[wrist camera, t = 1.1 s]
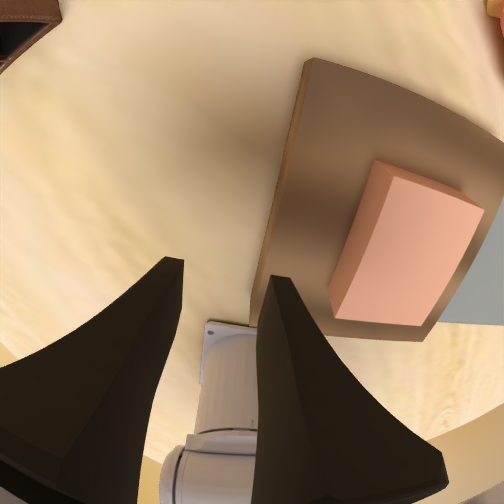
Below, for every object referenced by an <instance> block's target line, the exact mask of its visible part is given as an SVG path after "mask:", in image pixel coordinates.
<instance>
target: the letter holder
mask: <svg viewBox="0 0 504 504" xmlns="http://www.w3.org/2000/svg"><path fill="white" fill-rule="evenodd" d="M58 6H59V5H58V2H57V0H0V74H1V73H2V72H3V71H4V70H5V69H6V68H7V67H8V66H9V65H10V64H11V63H12V62H13V61H14V60H15V59H16V58H18V57H19V56H20V55H21V54H22V53H23V52H24V51H25V50H27V49H28V48H29V47H30V46H32V45H33V44H34V43H35V42H36V41H37V40H39V39H40V38H42V37H43V36H44V35H45V34H46V33H48V32H49V31H50V30H52V29H53V28H54V27H56V26H57V25H58V24H60V23H61V16H60V12H59V7H58Z"/></svg>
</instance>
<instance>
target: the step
mask: <svg viewBox="0 0 504 504" xmlns="http://www.w3.org/2000/svg"><path fill="white" fill-rule="evenodd" d="M374 160H376V161H380V162H383V163H386V164H389V165H392V166H395V167H398V168H401V169H404V170H407V171H410V172H412V173H415V174H418V175H421V176H423V177H426V178H429V179H431V180H434V181H437V182H439V183H442V184H444V185H447V186H449V187H452V188H454V189H457V190H459V191H461V192H462V193H464V194H465V195H466V196H468V197H469V198H470V199H471V200H473V201H474V202H475V203H477V204H478V205H479V206H480V207H482V208H483V209H484V213H483V215H482V217H481V220H480V222H479V224H478V226H477V228H476V231H475V233H474V235H473V237H472V239H471V241H470V243H469V245H468V247H467V249H466V251H465V253H464V255H463V257H462V259H461V261H460V263H459V264H458V266H457V268H456V270H455V272H454V274H453V275H452V277H451V279H450V281H449V282H448V284H447V286H446V287H445V289H444V291H443V292H442V294H441V296H440V297H439V299H438V301H437V302H436V304H435V305H434V307H433V309H432V310H431V312H430V313H429V315H428V316H427V318H426V319H425V321H424V322H423V324H422V325H421V326H412V325H400V324H388V323H377V322H366V321H357V320H347V319H338V318H335V317H334V313H333V309H332V305H331V301H330V297H329V293H328V289H327V288H328V286H329V283H330V281H331V279H332V276H333V274H334V271H335V269H336V266H337V264H338V261H339V259H340V256H341V253H342V251H343V248H344V246H345V243H346V240H347V238H348V235H349V232H350V230H351V227H352V224H353V221H354V219H355V216H356V213H357V210H358V207H359V204H360V202H361V199H362V196H363V193H364V190H365V187H366V184H367V181H368V178H369V175H370V171H371V168H372V165H373V162H374ZM503 197H504V143H503V142H502V141H500V140H499V139H497V138H496V137H494V136H493V135H491V134H490V133H488V132H487V131H485V130H483V129H482V128H480V127H479V126H477V125H475V124H474V123H472V122H470V121H468V120H467V119H465V118H463V117H461V116H460V115H458V114H456V113H454V112H452V111H451V110H449V109H447V108H445V107H443V106H441V105H439V104H437V103H435V102H433V101H431V100H429V99H427V98H425V97H423V96H420V95H418V94H416V93H414V92H412V91H409V90H407V89H405V88H402V87H400V86H398V85H395V84H393V83H390V82H388V81H385V80H383V79H380V78H377V77H375V76H372V75H369V74H366V73H363V72H360V71H358V70H355V69H351V68H348V67H345V66H342V65H339V64H335V63H332V62H329V61H325V60H321V59H318V58H312V59H310V60H308V61H306V62H304V67H303V72H302V76H301V81H300V85H299V90H298V94H297V99H296V103H295V108H294V112H293V116H292V121H291V125H290V130H289V134H288V139H287V143H286V147H285V152H284V156H283V161H282V165H281V169H280V174H279V178H278V182H277V187H276V191H275V195H274V200H273V204H272V208H271V213H270V217H269V221H268V225H267V230H266V234H265V238H264V242H263V247H262V251H261V255H260V259H259V264H258V268H257V272H256V276H255V280H254V285H253V289H252V293H251V300H250V320H249V326H253V327H257V325H258V318H259V315H260V311H261V308H262V304H263V301H264V297H265V293H266V290H267V286H268V282H269V279H270V275H277V276H284V277H290V278H291V280H292V281H293V283H294V285H295V287H296V289H297V291H298V293H299V295H300V296H301V298H302V300H303V302H304V304H305V305H306V307H307V309H308V311H309V312H310V314H311V316H312V317H313V319H314V321H315V322H316V324H317V326H318V327H319V329H320V330H321V332H322V334H323V335H327V336H337V337H348V338H361V339H375V340H391V341H412V342H423V340H424V339H425V337H426V336H427V335H428V333H429V332H430V331H431V329H432V328H433V326H434V325H435V323H436V322H437V320H438V319H439V318H440V316H441V315H442V313H443V312H444V310H445V308H446V307H447V305H448V304H449V302H450V301H451V299H452V297H453V296H454V294H455V293H456V291H457V289H458V288H459V286H460V284H461V283H462V281H463V279H464V277H465V276H466V274H467V272H468V270H469V269H470V267H471V265H472V263H473V261H474V259H475V257H476V256H477V254H478V252H479V250H480V248H481V246H482V244H483V242H484V240H485V238H486V236H487V234H488V231H489V229H490V227H491V225H492V223H493V220H494V218H495V216H496V214H497V211H498V209H499V207H500V204H501V202H502V199H503Z"/></svg>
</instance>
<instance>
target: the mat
mask: <svg viewBox="0 0 504 504" xmlns="http://www.w3.org/2000/svg"><path fill="white" fill-rule="evenodd" d="M437 322H447V323H462V324H480V325H502V326H504V197H503V199H502V202H501V204H500V207H499V209H498V211H497V214H496V216H495V218H494V220H493V223H492V225H491V227H490V229H489V231H488V234H487V236H486V238H485V240H484V242H483V244H482V246H481V248H480V250H479V252H478V254H477V256H476V257H475V259H474V261H473V263H472V265H471V267H470V269H469V270H468V272H467V274H466V276H465V277H464V279H463V281H462V283H461V284H460V286H459V288H458V289H457V291H456V293H455V294H454V296H453V297H452V299H451V301H450V302H449V304H448V305H447V307H446V308H445V310H444V312H443V313H442V315H441V316H440V318H439V319H438V320H437Z"/></svg>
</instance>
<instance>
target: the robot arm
mask: <svg viewBox="0 0 504 504" xmlns="http://www.w3.org/2000/svg"><path fill="white" fill-rule="evenodd" d="M183 272H184V260H183V259H177V258H171V257H166V256H165V257H164V258H162V259H161V260H160V261H159V262H158V263H157V264H156V265H155V266H154V267H153V268H152V269H150V270H149V271H148V272H147V273H146V274H145V275H144V276H143V277H142V278H141V279H140V280H138V281H137V282H136V283H135V284H134V285H133V286H132V287H130V288H129V289H128V290H127V291H126V292H125V293H124V294H122V295H121V296H120V297H119V298H117V299H116V300H115V301H114V302H112V303H111V304H110V305H109V306H107V307H106V308H105V309H104V310H102V311H101V312H100V313H98V314H97V315H96V316H94V317H93V318H92V319H90V320H89V321H87V322H86V323H84V324H83V325H81V326H80V327H78V328H77V329H76V330H74V331H72V332H71V333H69V334H67V335H66V336H64V337H62V338H61V339H59V340H57V341H55V342H54V343H52V344H50V345H48V346H47V347H45V348H43V349H41V350H39V351H37V352H35V353H33V354H31V355H29V356H27V357H25V358H22V359H20V360H18V361H16V362H13V363H11V364H9V365H6V366H4V367H1V368H0V504H137V498H138V487H139V479H140V470H141V463H142V457H143V450H144V444H145V439H146V433H147V427H148V422H149V417H150V413H151V408H152V403H153V399H154V396H155V392H156V389H157V386H158V383H159V380H160V377H161V375H162V372H163V369H164V366H165V363H166V360H167V357H168V355H169V352H170V349H171V346H172V343H173V340H174V338H175V335H176V330H177V326H178V322H179V318H180V313H181V309H182V291H183ZM199 383H200V384H201V385H202V386H201V392H200V398H199V404H198V411H197V417H196V424H195V430H194V435H193V434H188V435H187V438H186V444H185V446H184V445H178V446H176V447H175V448H174V449H173V450H172V451H171V452H170V453H169V454H168V455H167V456H166V458H165V460H164V463H163V467H162V470H161V474H160V481H159V499H160V504H412V503H414V502H417V501H419V500H422V499H424V498H426V497H428V496H431V495H433V494H435V493H437V492H439V491H441V490H443V489H444V488H446V487H447V485H448V484H449V480H448V475H447V471H446V467H445V463H444V459H443V456H442V452H440V451H439V450H438V449H436V448H435V447H433V446H432V445H431V444H429V443H428V442H426V441H425V440H423V439H422V438H421V437H419V436H418V435H416V434H415V433H413V432H412V431H411V430H410V429H408V428H407V427H406V426H405V425H404V424H402V423H401V422H400V421H399V420H398V419H396V418H395V417H394V416H393V415H392V414H391V413H390V412H389V411H387V410H386V409H385V408H384V407H383V406H382V405H381V404H380V403H379V402H378V401H377V400H376V399H375V398H374V397H373V396H372V395H371V394H370V393H369V392H368V391H367V390H366V389H365V388H364V387H363V386H362V384H361V383H360V382H359V381H358V380H357V379H356V378H355V376H354V375H353V374H352V373H351V372H350V370H349V369H348V368H347V367H346V366H345V364H344V363H343V362H342V361H341V359H340V358H339V357H338V355H337V354H336V353H335V351H334V350H333V348H332V347H331V345H330V344H329V343H328V341H327V340H326V338H325V337H324V335H323V334H322V332H321V330H320V329H319V327H318V326H317V324H316V322H315V321H314V319H313V317H312V316H311V314H310V312H309V311H308V309H307V307H306V305H305V304H304V302H303V300H302V298H301V296H300V295H299V293H298V291H297V289H296V287H295V285H294V283H293V281H292V280H291V278H290V277H284V276H277V275H270V279H269V282H268V286H267V290H266V293H265V297H264V301H263V304H262V308H261V311H260V315H259V318H258V325H257V328H251V327H245V326H238V325H232V324H225V323H219V322H213V321H209V322H207V323H206V325H205V332H204V342H203V351H202V361H201V371H200V382H199ZM459 504H504V482H503V481H502V482H500V483H499V484H497V485H495V486H493V487H492V488H490V489H488V490H486V491H484V492H482V493H481V494H478V495H476V496H474V497H472V498H470V499H468V500H465V501H463V502H461V503H459Z"/></svg>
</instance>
